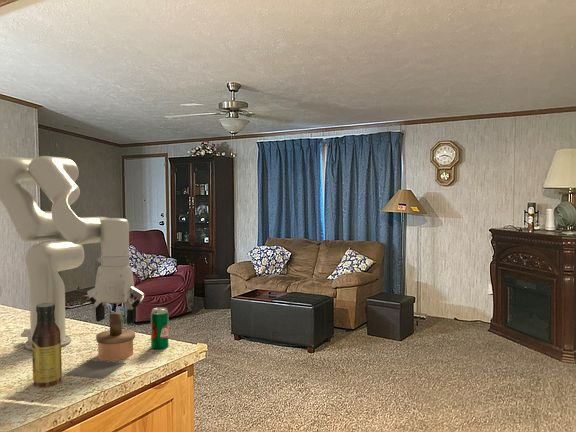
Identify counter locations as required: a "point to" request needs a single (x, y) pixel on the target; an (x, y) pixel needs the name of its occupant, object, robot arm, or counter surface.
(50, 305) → the sauce bottle
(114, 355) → the bowl
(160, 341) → the soda can
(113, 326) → the lid
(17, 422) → the counter surface
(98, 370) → the mat
